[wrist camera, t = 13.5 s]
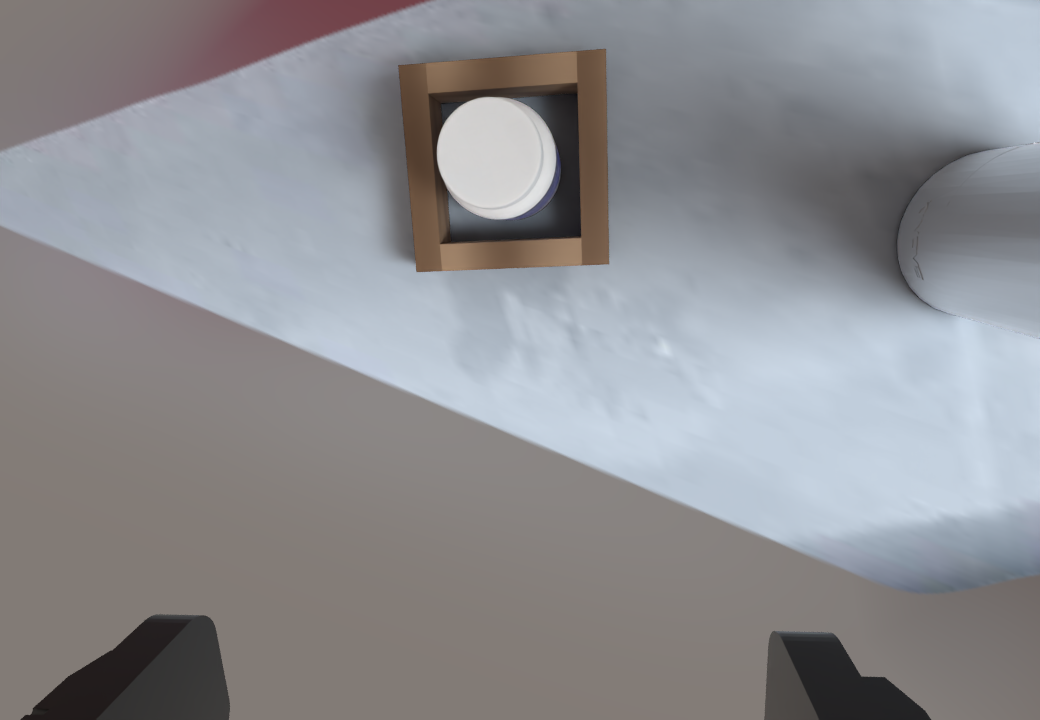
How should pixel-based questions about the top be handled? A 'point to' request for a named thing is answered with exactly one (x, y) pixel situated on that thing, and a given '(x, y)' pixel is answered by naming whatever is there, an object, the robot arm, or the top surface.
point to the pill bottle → (498, 159)
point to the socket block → (508, 80)
